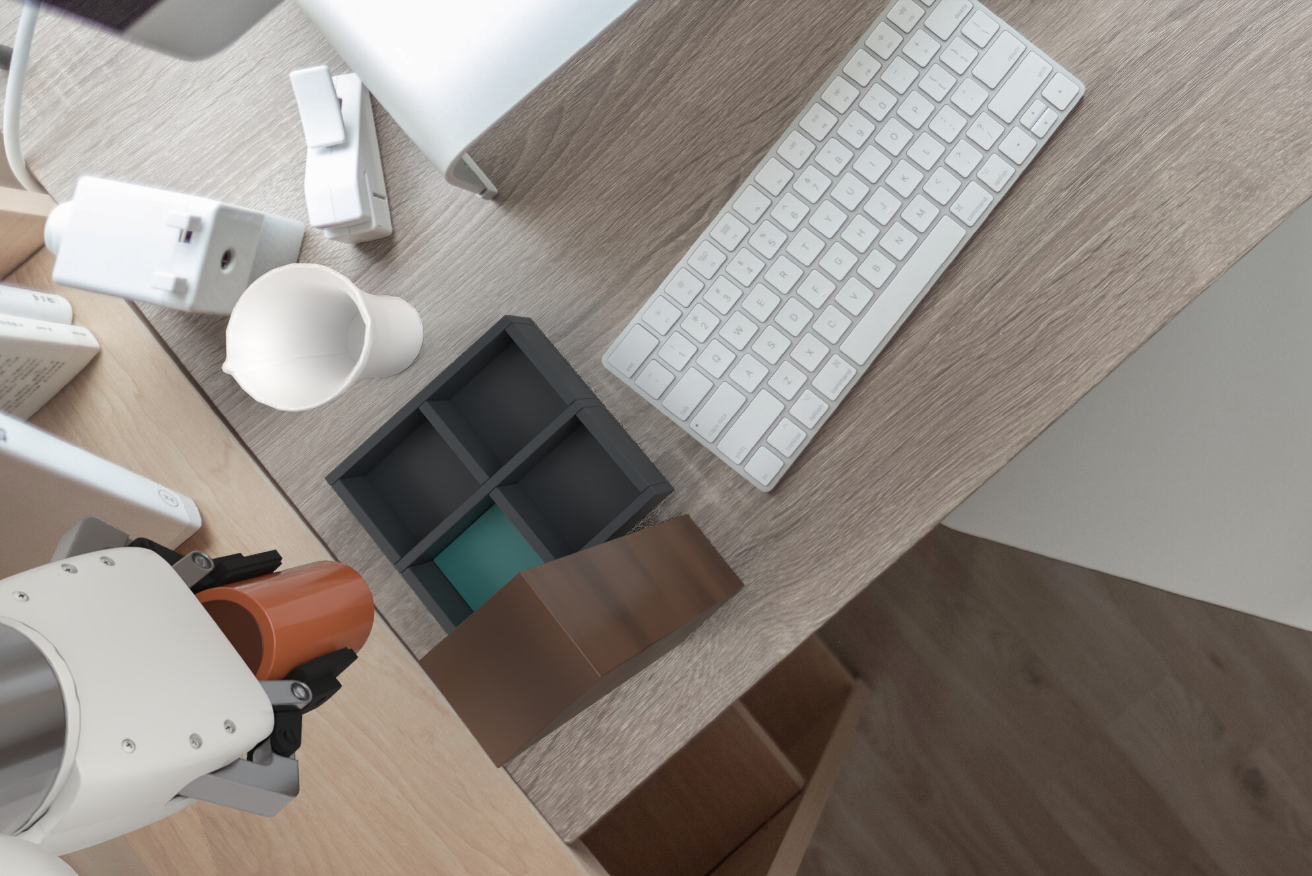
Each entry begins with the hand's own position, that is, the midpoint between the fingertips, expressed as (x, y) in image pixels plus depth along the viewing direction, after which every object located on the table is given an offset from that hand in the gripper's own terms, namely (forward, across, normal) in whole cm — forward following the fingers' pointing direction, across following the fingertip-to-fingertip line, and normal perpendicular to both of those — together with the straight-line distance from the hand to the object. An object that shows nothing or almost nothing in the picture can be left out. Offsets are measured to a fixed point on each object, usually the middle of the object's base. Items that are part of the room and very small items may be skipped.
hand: (291, 625), depth 55 cm
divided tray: (+22, -3, +4) cm, 22 cm away
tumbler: (+2, 0, 0) cm, 2 cm away
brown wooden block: (+21, +9, +8) cm, 25 cm away
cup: (+22, -16, +3) cm, 27 cm away
